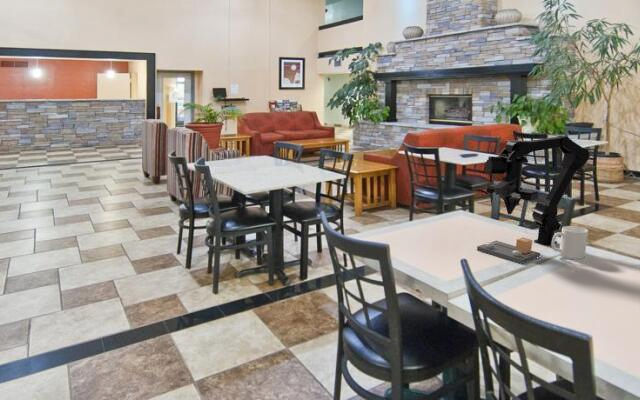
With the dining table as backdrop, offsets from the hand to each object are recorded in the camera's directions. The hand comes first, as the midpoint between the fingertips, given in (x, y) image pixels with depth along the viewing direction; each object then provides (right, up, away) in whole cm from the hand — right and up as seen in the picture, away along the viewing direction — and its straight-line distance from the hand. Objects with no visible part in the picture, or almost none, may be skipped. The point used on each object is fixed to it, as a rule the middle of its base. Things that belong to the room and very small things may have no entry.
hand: (509, 214), depth 189 cm
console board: (-4, -14, -9) cm, 17 cm away
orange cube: (+1, -13, -11) cm, 18 cm away
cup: (+17, -15, -11) cm, 25 cm away
